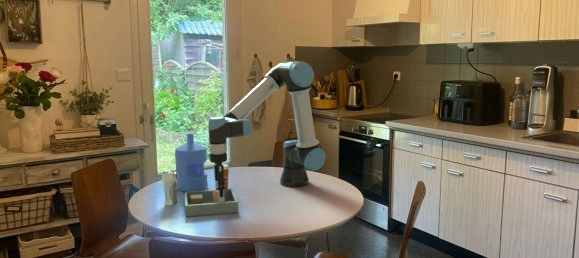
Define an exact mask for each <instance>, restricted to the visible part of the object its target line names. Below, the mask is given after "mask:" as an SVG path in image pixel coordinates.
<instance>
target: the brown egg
mask: <svg viewBox="0 0 579 258" xmlns="http://www.w3.org/2000/svg"><path fill="white" fill-rule="evenodd" d="M212 190H213V203H218V190H217V189H216V188H215V189H212Z"/></svg>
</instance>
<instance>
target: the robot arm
mask: <svg viewBox="0 0 579 258" xmlns="http://www.w3.org/2000/svg"><path fill="white" fill-rule="evenodd" d="M263 78H264V79H263V80H261V82H259V83H258V84H257V85H256V86H255V87H254V88H252V90H250V92H248V93H247V95H245V96H244V97H243V98H242V99H241V100H240V101H239V102H238V103H237V104H235V105H234V106H233V107H232V108H231V109H230V110H229V111H228V112H227V113H225V115H220V116H214V117H210V118H208V123H207V129H208V142H209V145H208V146H207V148H209V152H210V153H209V162H211V163H213V164H214V165H213V168H214V169H213V171H214V170H215V174H214V181H215V180H216V181H215V182H214V183H215V189H217V190H218V203H219V202H225V195H224V189H225V187H224V171H223V170H224V166H223V164H224V163H226V162H227V161H228V153H227V152H228V145H227V144H228V143H227V142H228V141H227V139H229V138H230V139H231V138H241V137H243V138H244V137H247V136H250V135H251V133H252V130H253V126H252V123H251V121H250V120H249V119H247V117H248V116H249V115H250V114H251V113H252V112H254V110H255V109H256V108H257V107H259V106H260V105H261V104H262V103H263V102H264V101H265V100H266V99H267V98H268V97H269V96H270V95H272V94H273V93H274V92H275V91H279V90H280V89H281V88H283V87H284V86H286V92H287V93H289V94H290V97H291V104H292V109H293V115H294V122H295V129H296V134H297V139H292V140H286V141H284V142H283V146H282V147H283V148H282V150H283V151H282V152H283V161H282V163H283V170H282V171H281V176H280V181H279V184H280V185H282V186H284V187H291V188H293V187H295V188H296V187H299V188H300V187H305V186H308V185H309V184H308V183H310V182H309V180H310V179H309V176H308V172H307V170H308V171H312V172H313V171H314V172H315V171H318V170H319V169H321V168H322V167H323V165H324V164H325V162H326V152H325V151H324V149H322V148H321V146H320V141H319V140H318V139H316V133H315V126H314V118H313V114H312V106H311V98H310V93H309V92H310V90H311V89H312V83H313V81H314V80H315V79H314V78H315V72H314V70H313V67H312V66H311V65H310V64H309V63H308V62H306V61H301V60H300V61H299V60H295V61H288V60H287V61H283V62H280V63H278V64H277V65H276V66H274V67H273V68H272V69H270V70H269V71H268V72H267V73H266V74H265V75H264V77H263ZM245 118H246V119H245ZM222 186H223V187H222Z"/></svg>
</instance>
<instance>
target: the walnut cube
mask: <svg viewBox="0 0 579 258" xmlns="http://www.w3.org/2000/svg"><path fill="white" fill-rule="evenodd" d="M194 204H203V197H202V194H201V195H191V205H194Z"/></svg>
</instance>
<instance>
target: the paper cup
mask: <svg viewBox="0 0 579 258" xmlns="http://www.w3.org/2000/svg"><path fill="white" fill-rule="evenodd" d="M222 164H223V166H224V170H223V171H224V187H225V189H229V170H230V167H229V165H228V164H226V163H222ZM212 168H213V172H214V175H215V170H214V167H212ZM214 181H216V180H215V179H214ZM222 187H223V186H222Z"/></svg>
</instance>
